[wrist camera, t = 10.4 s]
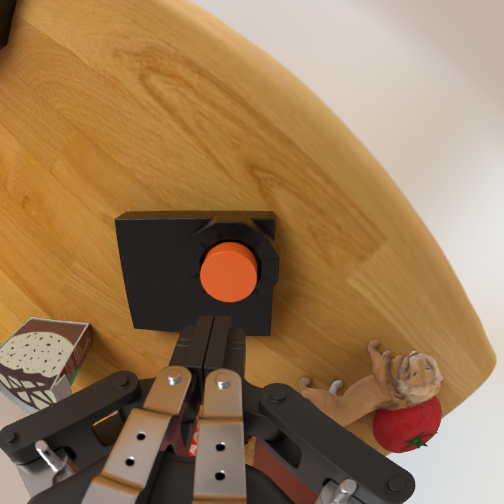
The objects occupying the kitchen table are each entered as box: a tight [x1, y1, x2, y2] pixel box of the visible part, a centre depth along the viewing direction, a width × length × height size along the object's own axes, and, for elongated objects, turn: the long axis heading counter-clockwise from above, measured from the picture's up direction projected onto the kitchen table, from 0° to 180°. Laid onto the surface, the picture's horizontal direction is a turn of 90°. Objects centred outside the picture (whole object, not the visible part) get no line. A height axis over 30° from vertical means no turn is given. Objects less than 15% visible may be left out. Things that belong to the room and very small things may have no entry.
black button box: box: [115, 211, 279, 336], centre depth 23 cm, size 10×12×4 cm
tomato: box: [373, 396, 442, 453], centre depth 27 cm, size 9×9×8 cm
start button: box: [200, 242, 257, 302], centre depth 20 cm, size 4×4×2 cm
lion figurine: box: [299, 339, 444, 427], centre depth 24 cm, size 15×5×9 cm, turn 133°
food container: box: [0, 317, 92, 414], centre depth 24 cm, size 12×6×10 cm, turn 93°
